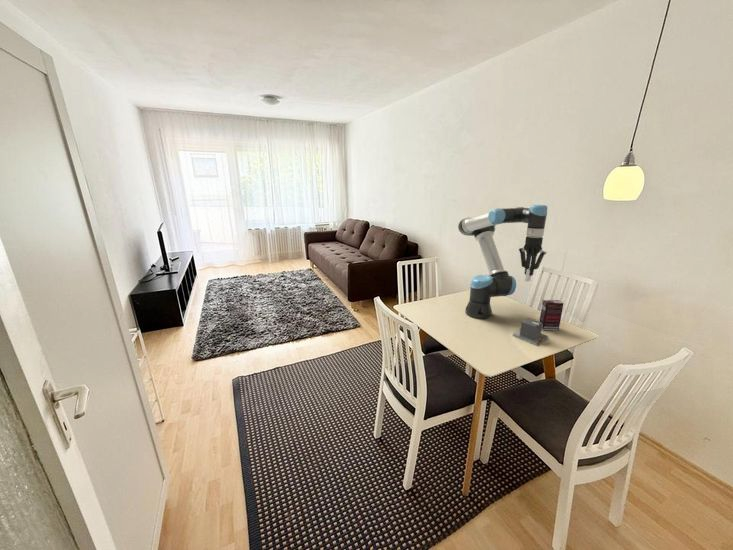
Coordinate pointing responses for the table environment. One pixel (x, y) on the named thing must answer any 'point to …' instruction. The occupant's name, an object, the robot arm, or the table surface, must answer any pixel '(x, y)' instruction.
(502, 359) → the table surface
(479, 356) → the table surface
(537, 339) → the hub
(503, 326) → the table surface
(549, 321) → the supplement box
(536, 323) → the grey cube
